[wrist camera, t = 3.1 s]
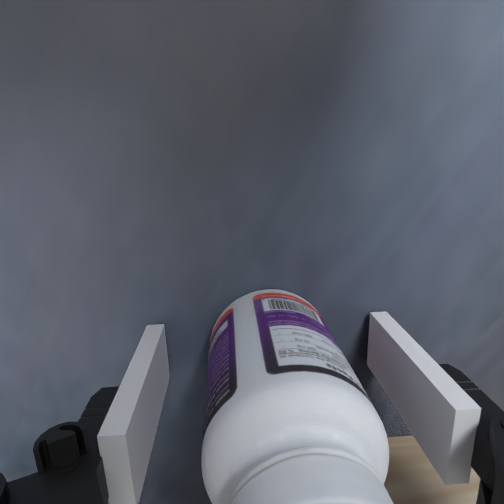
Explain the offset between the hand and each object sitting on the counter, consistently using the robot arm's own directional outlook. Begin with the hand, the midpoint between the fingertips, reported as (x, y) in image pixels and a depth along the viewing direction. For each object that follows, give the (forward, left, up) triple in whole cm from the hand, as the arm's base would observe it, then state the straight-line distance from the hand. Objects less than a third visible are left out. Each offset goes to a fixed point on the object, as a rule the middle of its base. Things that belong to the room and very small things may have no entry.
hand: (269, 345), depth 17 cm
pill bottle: (0, 0, 0) cm, 0 cm away
